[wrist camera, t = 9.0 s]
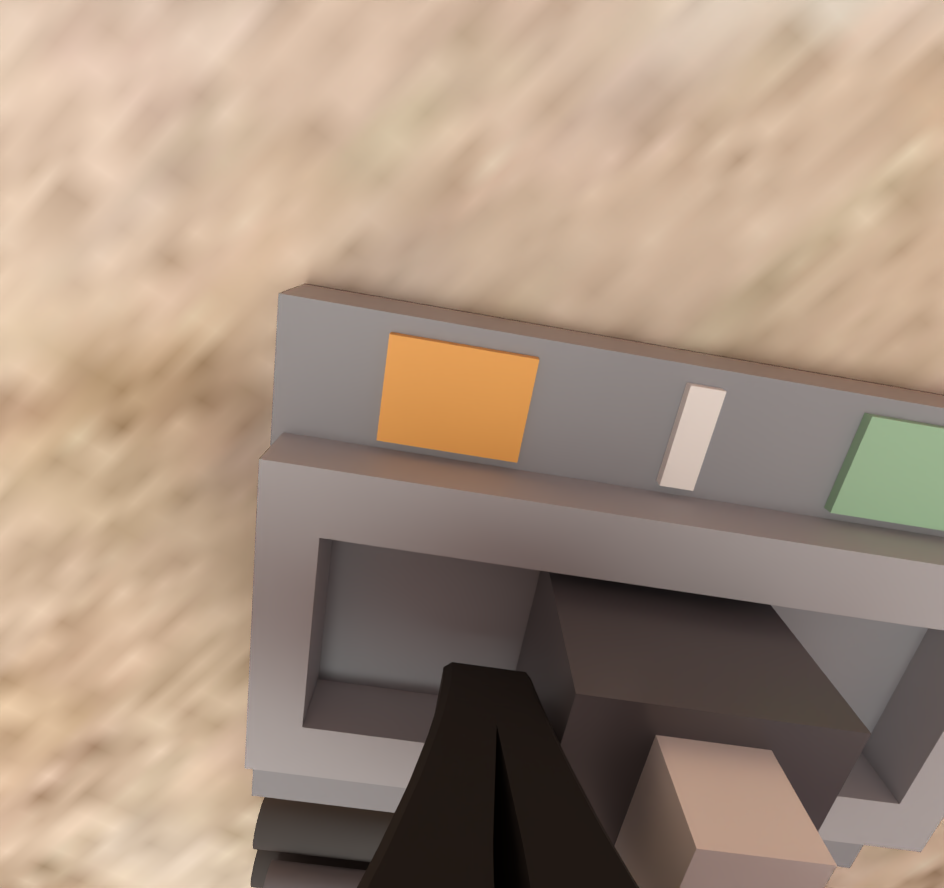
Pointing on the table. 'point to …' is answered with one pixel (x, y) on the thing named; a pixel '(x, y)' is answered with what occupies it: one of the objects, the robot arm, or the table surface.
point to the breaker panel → (576, 533)
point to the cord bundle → (314, 844)
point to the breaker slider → (692, 730)
